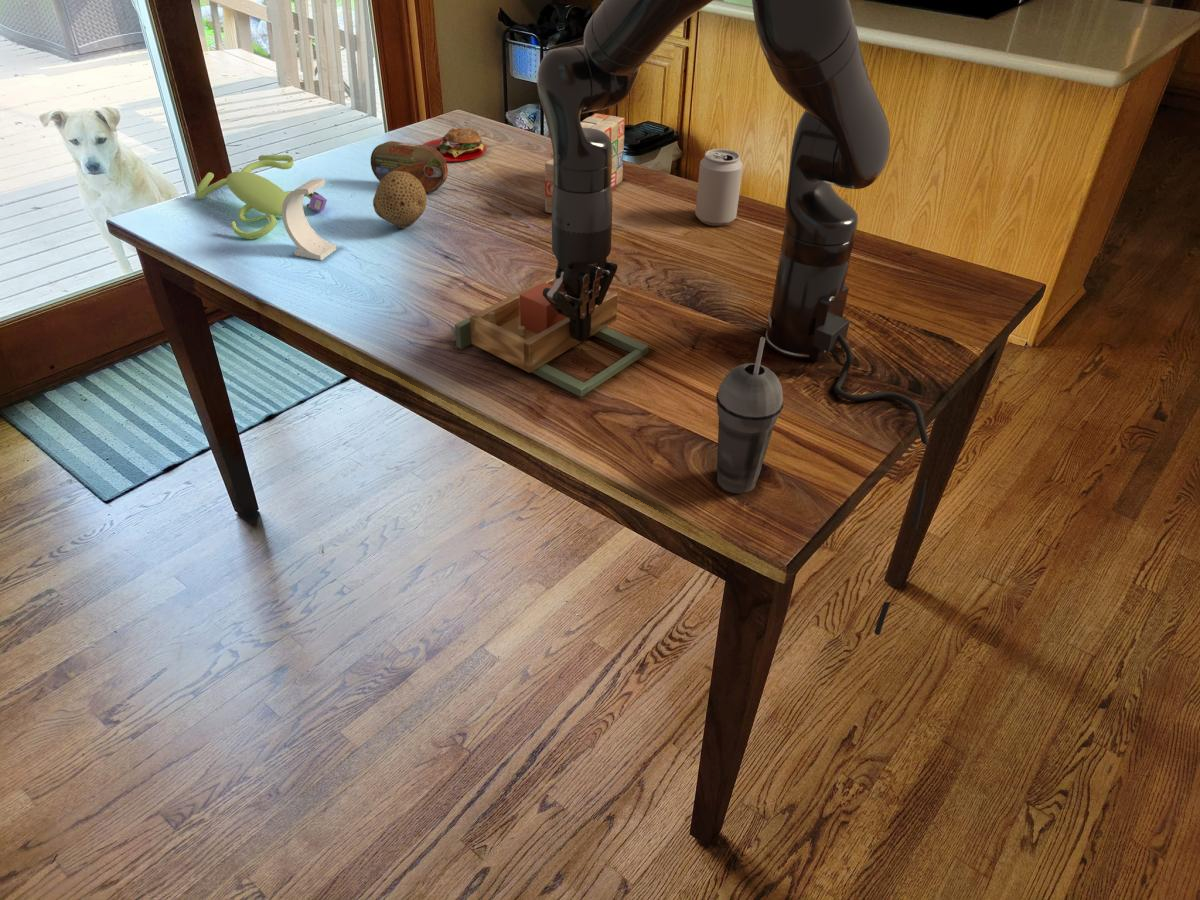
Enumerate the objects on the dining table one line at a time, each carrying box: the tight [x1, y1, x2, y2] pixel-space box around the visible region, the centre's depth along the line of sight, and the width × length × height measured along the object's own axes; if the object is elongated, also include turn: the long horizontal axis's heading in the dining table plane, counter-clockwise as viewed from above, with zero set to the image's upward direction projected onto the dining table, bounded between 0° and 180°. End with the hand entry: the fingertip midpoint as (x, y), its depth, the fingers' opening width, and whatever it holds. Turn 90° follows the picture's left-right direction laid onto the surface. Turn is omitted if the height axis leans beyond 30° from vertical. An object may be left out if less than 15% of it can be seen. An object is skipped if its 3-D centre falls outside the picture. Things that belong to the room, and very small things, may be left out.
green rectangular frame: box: [454, 277, 649, 398], centre depth 122 cm, size 21×19×4 cm
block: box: [520, 282, 567, 334], centre depth 121 cm, size 5×5×5 cm
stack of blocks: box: [544, 112, 626, 214], centre depth 162 cm, size 21×6×12 cm, turn 155°
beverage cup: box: [715, 336, 784, 494], centre depth 95 cm, size 7×7×20 cm
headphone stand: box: [281, 178, 338, 261], centre depth 141 cm, size 5×6×12 cm
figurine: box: [194, 154, 328, 240], centre depth 156 cm, size 18×27×6 cm
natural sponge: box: [372, 171, 427, 229], centre depth 149 cm, size 9×9×10 cm
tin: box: [370, 140, 449, 194], centre depth 164 cm, size 15×3×8 cm, turn 73°
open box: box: [469, 273, 619, 374], centre depth 122 cm, size 11×18×5 cm, turn 140°
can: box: [694, 148, 744, 227], centre depth 155 cm, size 8×8×12 cm
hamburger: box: [422, 127, 487, 162], centre depth 181 cm, size 14×14×6 cm
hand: (580, 337), depth 119 cm, fingers closed
